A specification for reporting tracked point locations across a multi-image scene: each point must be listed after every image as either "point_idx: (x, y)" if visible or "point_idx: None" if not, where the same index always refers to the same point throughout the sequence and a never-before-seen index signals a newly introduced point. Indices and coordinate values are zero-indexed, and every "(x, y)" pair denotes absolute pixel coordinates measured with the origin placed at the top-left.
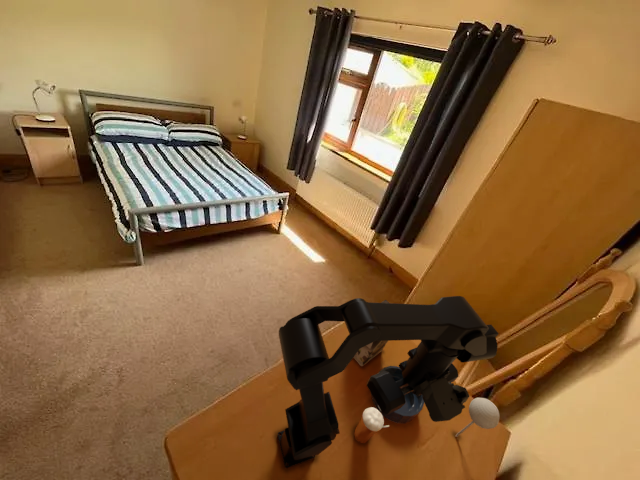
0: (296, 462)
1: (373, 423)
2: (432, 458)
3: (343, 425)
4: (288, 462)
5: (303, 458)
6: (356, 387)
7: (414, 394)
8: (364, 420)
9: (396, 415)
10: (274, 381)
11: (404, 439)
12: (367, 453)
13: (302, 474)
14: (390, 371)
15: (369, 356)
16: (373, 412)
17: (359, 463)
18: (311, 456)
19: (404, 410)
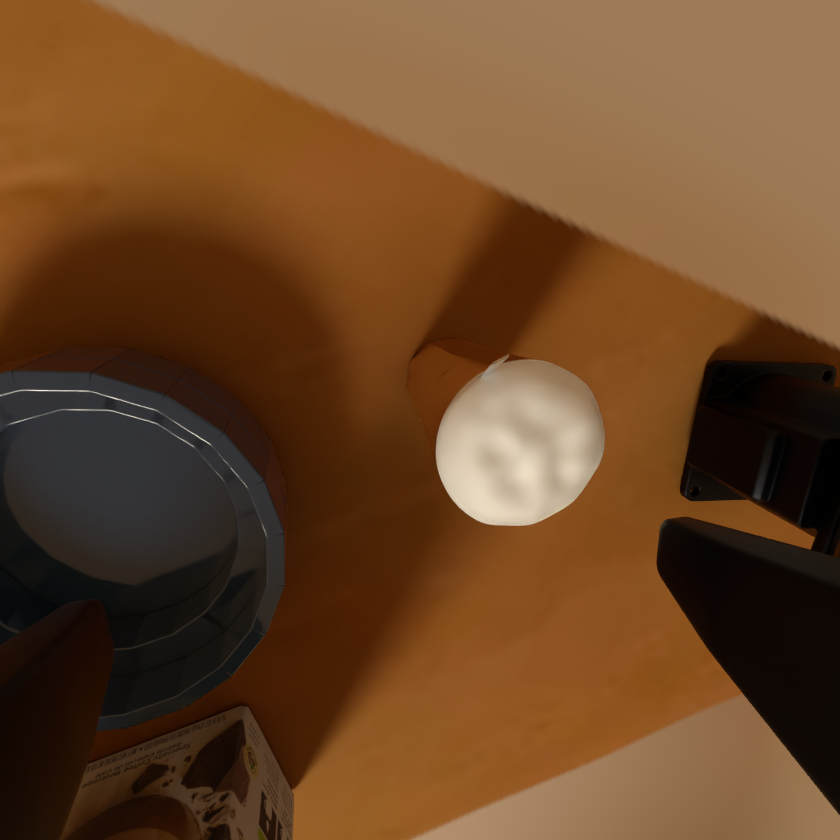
0: (795, 370)
1: (576, 418)
2: (14, 78)
3: None
4: (820, 381)
5: (764, 374)
6: (339, 603)
7: (98, 600)
8: (601, 455)
9: (209, 410)
10: (702, 681)
11: (178, 266)
12: (459, 285)
13: (780, 320)
14: None
15: (210, 800)
16: (525, 490)
17: (526, 259)
18: (729, 370)
19: (80, 420)
